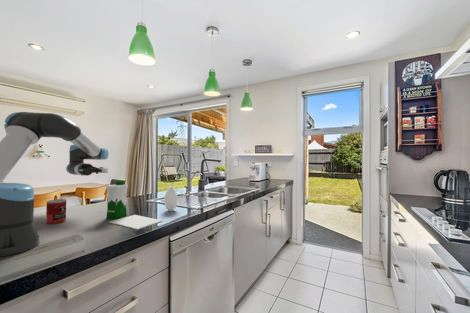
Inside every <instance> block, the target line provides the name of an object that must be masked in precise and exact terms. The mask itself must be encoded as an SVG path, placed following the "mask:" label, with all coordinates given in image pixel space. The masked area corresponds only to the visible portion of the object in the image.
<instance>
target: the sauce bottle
mask: <svg viewBox="0 0 470 313" xmlns="http://www.w3.org/2000/svg"><path fill="white" fill-rule="evenodd" d="M172 183H173V182H171V183H170V186H169V187H168V189H167V190H166V192H165V196H164V199H163V200H164V201H163V203H164V207H165V209H166V210H167V211H169V212H173V211H174V210H175V209H176V208H177V206H178V194H177V191H176V189H175V188H174V186H172V185H173V184H172Z"/></svg>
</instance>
